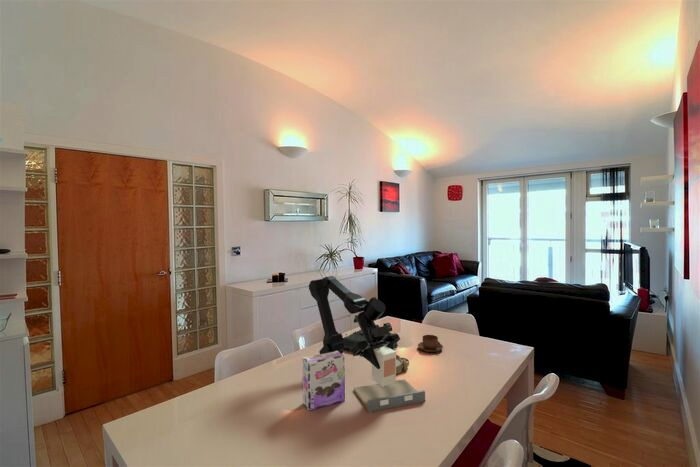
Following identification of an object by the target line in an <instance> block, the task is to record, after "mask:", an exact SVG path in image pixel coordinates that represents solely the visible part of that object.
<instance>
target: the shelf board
mask: <svg viewBox="0 0 700 467" xmlns="http://www.w3.org/2000/svg"><path fill="white" fill-rule="evenodd" d="M353 391H354V393H355V394H356V396H357V397H358V399H360V402H361V403H362V404H363V406H364V408H366V410H367V411H368V400H373V399H379V398H384V397H390V396H395V395H401V394H406V393H412V392H417V391H418V390H417V389H416V388H414V386H412V385H411V384H410V383H409V382H408V381H407V380H406V379H399V380H397V379H396V382H395V383H392V384H389V385H386V386H383V387H382V386H381V385H379V384H378V383H374V384H369V385H363V386H357V387H353Z"/></svg>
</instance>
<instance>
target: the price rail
mask: <svg viewBox="0 0 700 467" xmlns="http://www.w3.org/2000/svg"><path fill="white" fill-rule="evenodd" d="M425 401H426V390H419V391H418V390H417V392H412V393H406V394H401V395H395V396H390V397H384V398H379V399H373V400H368V410H367V411H368V412H369V413H371V412H377V411H381V410H386V409H391V408H398V407H402V406H408V405H412V404H417V402H418V403H423V402H425ZM407 404H408V405H407Z"/></svg>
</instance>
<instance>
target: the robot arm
mask: <svg viewBox="0 0 700 467" xmlns="http://www.w3.org/2000/svg"><path fill="white" fill-rule="evenodd" d="M308 290H309V293H310V295H311V297H312V298H313V299H314V300H315V301H316V304H317V307H318V312H319V317H320V319H321V324H322V325H321V326H322V328H323V332H324V335H323V340H322V347H321V349H320V350H319V355H320V354H325V353H330V352H335V351H338V352H340V353H341V354H343V351H344V350H343V349H344V343H345V342H344V340H343V338H344V336H343V334H342V333H339V332H338V331H337V329H336V326H335V322H334V319H333V318H334V317H333V314H332V311H331V306H330V301H329V294H330V291H331V293H333V294H334V295H335V296H336V297H338V298H339V299H340V300H341V301H342V302H343V306H344V308H345V309H346V310H347V312H348V313H349V314H350V315H354V314H355V315H354V319H353V323H357V324H358V325H359V328H360V330H361V331H362V334H361V336H362V337H363V336H364V337H365V340H366V341H361V342H357V343H356V344H355V345H354V346H353V348H352V352H351V354H352V356H353V357H357V356H360V357H361V358H364V359H365V360H367V361H368V362H369V363H370V364H371V365H372V364H373V365H374V366H375V367H376V368H377V369H380V366H379V363H378V361H377V358H376V356H375V354H374V349H375V348H378V347H384V346H386V347H388V348H390V349H392V350H394V349H393V346H394V345H395V344H396V343H397V344H398V342H400V341H401V337H400V335H399V334H398V333H396V332H395V333H391V332H392V331H393V326H392V325H391V323H390V322H385V323H383V325H382V326H380V325H379V324H376V323H375V321H377V320H378V319H379V318H380V317H381V316H382V315H383V314H384V313H385V311H386V310H387V307H386V304H385V303H384V302H382V301H381V300H380V299H377V297H376V296H373V297H371V298H370V299H369V300H367V299H366V298H365V297H363V296H362V295H360V294H358V293H355V292H354V293H353V292H352V291H351V290H350V289H348V287H346V286H345V285H343V284H342V282H340V281H339V280H337V277H336V276H334V275H330V276H325V277H323V278H320V279H319V278H318V279H314V280H310V282H309V284H308ZM357 313H358V314H357ZM390 333H391V334H390ZM386 334H390V335H388V336H387V337H386V338H385V339H383V340H382V338H384V337H385V335H386ZM361 353H362V354H361Z"/></svg>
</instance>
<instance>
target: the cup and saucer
mask: <svg viewBox="0 0 700 467" xmlns="http://www.w3.org/2000/svg"><path fill="white" fill-rule="evenodd" d="M417 347H418V349H420V350H422V351H423V352H428V353H436V352H440V351H442V350H443V348H444V346H443V344H442V343H440V341H439V337H438V336H437V335H434V334H425V335H424V334H423V336H422V342H419V343H418V344H417Z"/></svg>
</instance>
